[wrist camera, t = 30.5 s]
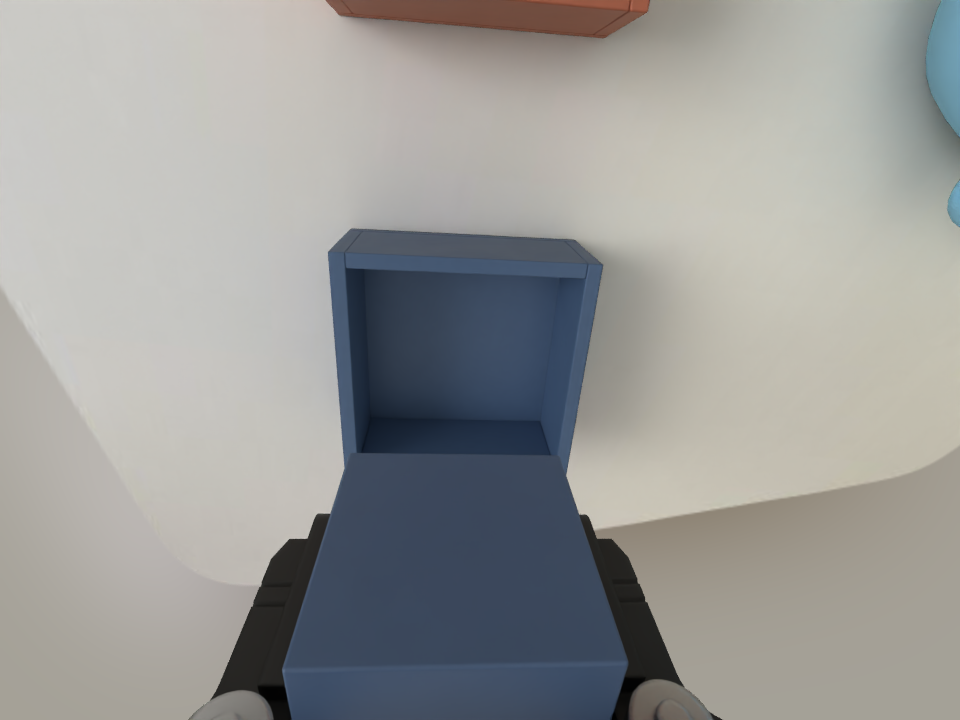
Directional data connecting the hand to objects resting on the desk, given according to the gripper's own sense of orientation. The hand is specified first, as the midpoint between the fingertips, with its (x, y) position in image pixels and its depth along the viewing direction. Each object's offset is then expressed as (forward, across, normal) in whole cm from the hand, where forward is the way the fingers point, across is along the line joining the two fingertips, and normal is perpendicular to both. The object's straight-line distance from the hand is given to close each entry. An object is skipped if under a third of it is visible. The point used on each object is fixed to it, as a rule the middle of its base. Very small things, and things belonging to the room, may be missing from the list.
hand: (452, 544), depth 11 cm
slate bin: (+14, 0, +1) cm, 14 cm away
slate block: (0, 0, 0) cm, 0 cm away
